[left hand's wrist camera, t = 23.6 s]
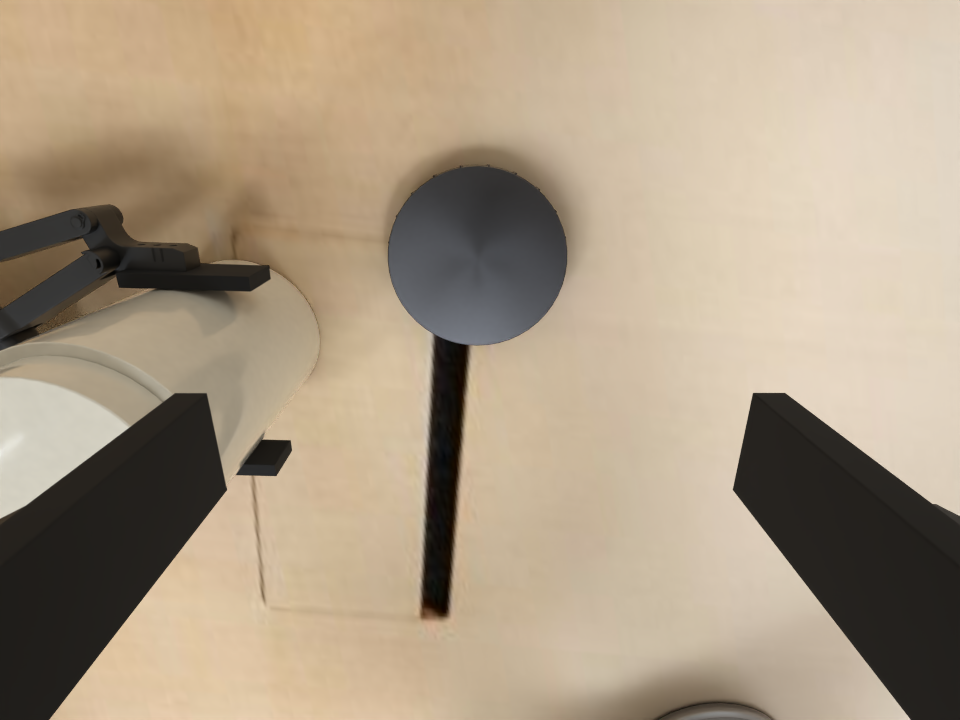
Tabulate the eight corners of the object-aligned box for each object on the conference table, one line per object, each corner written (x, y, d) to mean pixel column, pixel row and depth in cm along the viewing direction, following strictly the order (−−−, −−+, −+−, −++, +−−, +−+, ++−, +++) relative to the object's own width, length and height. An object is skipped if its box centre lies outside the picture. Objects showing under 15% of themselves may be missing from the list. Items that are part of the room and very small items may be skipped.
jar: (225, 419, 37) (34, 623, 21) (138, 295, 34) (-169, 427, 18) (346, 369, 36) (240, 547, 20) (269, 234, 32) (64, 317, 16)
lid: (543, 142, 30) (548, 141, 28) (576, 313, 34) (583, 323, 32) (369, 190, 31) (361, 193, 29) (421, 351, 35) (418, 363, 33)
